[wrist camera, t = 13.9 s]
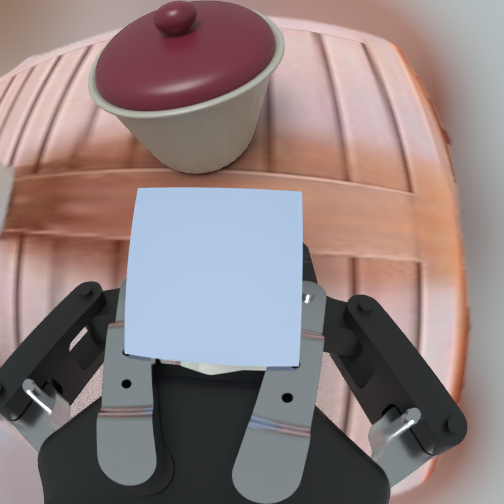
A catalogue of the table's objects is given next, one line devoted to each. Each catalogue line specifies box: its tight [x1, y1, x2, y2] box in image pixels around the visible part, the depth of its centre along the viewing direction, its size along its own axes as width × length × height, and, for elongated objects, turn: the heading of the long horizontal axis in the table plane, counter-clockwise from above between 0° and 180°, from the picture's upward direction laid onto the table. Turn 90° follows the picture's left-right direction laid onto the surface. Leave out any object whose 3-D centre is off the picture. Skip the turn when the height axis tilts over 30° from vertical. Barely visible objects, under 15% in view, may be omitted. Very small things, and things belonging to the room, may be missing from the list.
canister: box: [88, 1, 284, 174], centre depth 24 cm, size 18×18×21 cm
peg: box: [125, 188, 303, 366], centre depth 12 cm, size 4×4×12 cm
